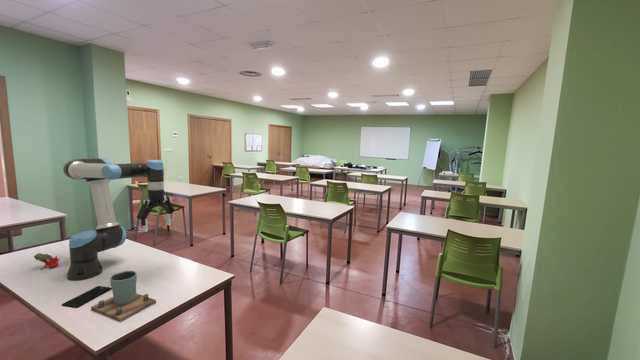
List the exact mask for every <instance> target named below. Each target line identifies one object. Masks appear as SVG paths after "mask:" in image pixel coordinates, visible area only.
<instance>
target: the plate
mask: <svg viewBox="0 0 640 360" xmlns="http://www.w3.org/2000/svg"><path fill="white" fill-rule="evenodd" d="M156 303H157V299H154V298H151V297H149V293H145V294H143V295H142V294H140V293H137V292H136V299H135V300H134V301H132V302H130V303H128V304H123V305H116V304H115V303H114V300H113V296H112V297H110V298H108V299H105V300H104V299H103V300H99V301H98V303H96V304H94V305H92V306H90V310H91V311H93V312H95V313H98V314H100V315H103V316H105V317H107V318H109V319H112V320H115V321H117V322H120V323H121V322H123V321H125V320H128V319H130V318H131V317H133V316H134V315H136V314H138V313H140V312H142V311H145V310H146V309H148V308H149V307H151V306H154V305H155V304H156Z"/></svg>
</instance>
